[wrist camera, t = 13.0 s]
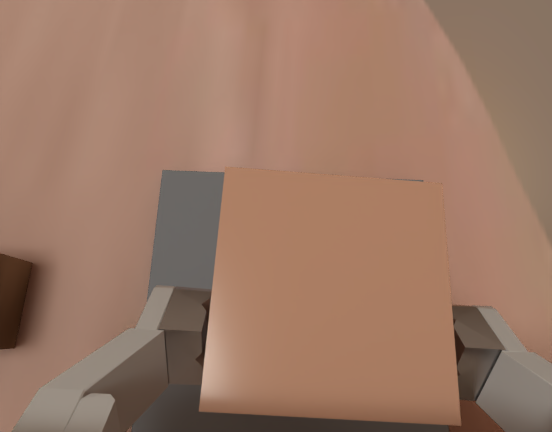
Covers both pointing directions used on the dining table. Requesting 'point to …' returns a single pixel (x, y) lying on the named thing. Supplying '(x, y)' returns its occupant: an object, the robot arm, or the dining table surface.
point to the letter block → (12, 297)
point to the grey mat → (199, 274)
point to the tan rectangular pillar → (331, 300)
